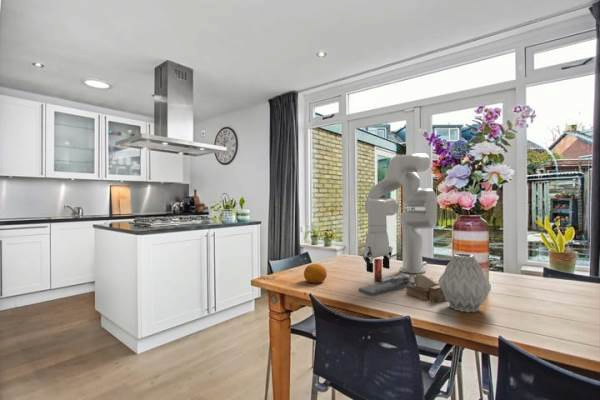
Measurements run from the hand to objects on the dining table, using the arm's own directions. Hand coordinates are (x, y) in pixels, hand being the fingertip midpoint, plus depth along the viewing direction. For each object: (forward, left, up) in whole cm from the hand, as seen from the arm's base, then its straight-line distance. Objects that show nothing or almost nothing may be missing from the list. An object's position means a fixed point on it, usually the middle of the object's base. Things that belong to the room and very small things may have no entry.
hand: (378, 270), depth 131 cm
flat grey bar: (-6, 0, -8) cm, 10 cm away
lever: (-8, +1, -6) cm, 10 cm away
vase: (-7, +32, -9) cm, 34 cm away
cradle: (-11, +16, -8) cm, 22 cm away
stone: (-11, +15, -9) cm, 20 cm away
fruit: (+14, -26, -9) cm, 30 cm away
